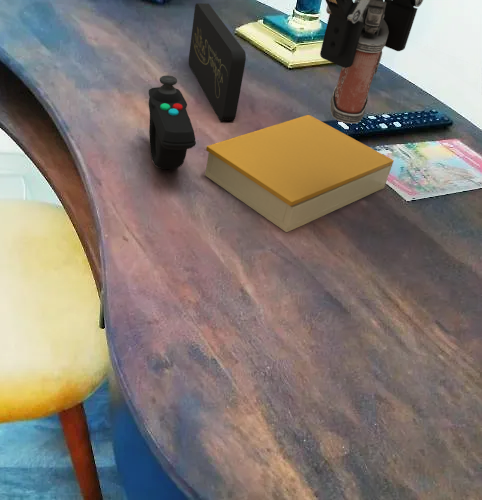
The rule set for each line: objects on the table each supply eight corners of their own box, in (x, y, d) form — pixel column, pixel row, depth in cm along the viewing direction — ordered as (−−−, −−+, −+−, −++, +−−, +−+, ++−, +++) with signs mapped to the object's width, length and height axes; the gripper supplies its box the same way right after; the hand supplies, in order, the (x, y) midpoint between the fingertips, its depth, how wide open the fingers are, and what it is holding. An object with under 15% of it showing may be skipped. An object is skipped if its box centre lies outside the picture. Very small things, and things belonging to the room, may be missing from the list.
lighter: (364, 126, 59) (397, 17, 53) (327, 119, 60) (355, 10, 54) (367, 92, 66) (397, -10, 59) (333, 85, 66) (360, -16, 60)
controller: (173, 142, 85) (182, 69, 79) (192, 194, 75) (203, 116, 69) (141, 142, 84) (147, 68, 78) (156, 194, 75) (163, 116, 68)
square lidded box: (286, 232, 71) (293, 207, 69) (204, 175, 79) (208, 151, 77) (384, 188, 80) (392, 164, 78) (301, 140, 88) (307, 118, 86)
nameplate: (234, 123, 90) (246, 53, 84) (221, 123, 90) (233, 53, 84) (199, 63, 106) (207, 1, 100) (188, 63, 106) (195, 1, 100)
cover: (290, 206, 68) (291, 201, 68) (205, 150, 76) (206, 145, 76) (392, 164, 78) (394, 160, 77) (307, 118, 86) (308, 114, 85)
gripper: (402, -166, 42) (335, 89, 53) (529, -168, 51) (449, 50, 62) (313, -181, 46) (268, 57, 57) (445, -180, 55) (384, 26, 66)
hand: (362, 52), depth 60 cm, fingers closed on lighter, 7 cm apart
